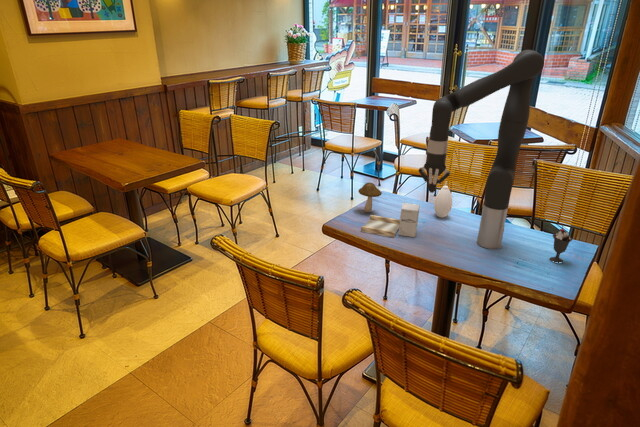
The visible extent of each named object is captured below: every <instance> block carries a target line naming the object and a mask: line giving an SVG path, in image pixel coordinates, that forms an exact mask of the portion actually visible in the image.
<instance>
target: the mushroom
mask: <svg viewBox="0 0 640 427" xmlns="http://www.w3.org/2000/svg"><path fill="white" fill-rule="evenodd" d="M358 194H359V195H361V196H364V197H367V200H366V203H365V205H364V208H363V210H364V213H371V211H372V210H373V198H376V197H380V196H381V195H382V194H383V193H382V191H381V190H380V189H379V188H377V186H376V185H375V184H374V183H373V182H366V183H364V184H363V185H362V187H360V188H359V189H358Z"/></svg>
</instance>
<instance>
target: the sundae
mask: <svg viewBox="0 0 640 427" xmlns="http://www.w3.org/2000/svg"><path fill="white" fill-rule="evenodd" d="M560 225H561V228H560V229H559V231H557V232H556V233H553V234H552V238H553V239H554V241H553V250H554V251H555V253H556V254H555V256H551V257H550V258H549V261H550V260H551V261H554V262H558V263H559V262H563V261H564V260H563V259H562V258H560V256H561V254H563V253H565V252H566V250H567V248H568V246H569V244H570V242H572V241H573V239H574V238H572V237H571V236H570V235H569V233H568V231H566V230H565V229H564V225H563V223H560ZM551 261H550V262H551Z"/></svg>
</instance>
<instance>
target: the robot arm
mask: <svg viewBox="0 0 640 427" xmlns="http://www.w3.org/2000/svg"><path fill="white" fill-rule="evenodd" d="M544 66H545V59H544V57H543V55H542V54H541V53H539V52H538V51H536V50H533V49H524V50H522V51H520V52H519V53H518V54H516V55H515V57H514V59H513V60H512V62H511V63H510V64H508V65H507V66H505V67H503V68H501V69H500V70H498V71H495V72H493V73H491V74H488V75H486V76H484V77H481V78H478V79H476V80H474V81H472V82H471V83H470V82H469V83H468V84H466V85H464V86H463V87H460V88H459V89H457V90H456V91H453V92H451V93H449V94H445V95H444V96H441V97H439V98H438V99H436V100H435V102H434V103H433V106H432V114H431V115H432V116H431V126H430V130H429V138H428V142H427V147H426V150H427V151H426V158H425V163H424V164H423V166H422V167H419V168H418V173H419V174H420V176H421V178H422V179H423V180H424V182H426V183H428V189H427V190H428V191H429V193H432V194H433V193H435V192H436V190H437V184H441V183H443V182H444V181H445V180H446V179H447V178H448V177H449V176H450V175H451V174H452V173H451V171H450V170H448V169H447V166H446V162H447V153H448V148H449V147H448V145H449V144H448V142H449V134H450V124H451V118H452V114H453V112H455V111H457V110H459V109H461V108H466V107H469V106H470V105H473V104H475V103H477V102H479V101H481V100H483V99H484V98H486V97H488V96H490V95H492V94H494V93H496V92H499V91H500V90H503V89H505V88H507V87H509V89H508V93H507V97H506V100H505V103H504V106H503V111H502V114H501V118H500V122H499V127H498V132H497V134H498V135H497V151H496V156H495V159H494V162H493V165H492V167H491V169H490V172H489V174H488V175H487V179H486V184H485V191H484V195H483V199H484V200H483V205H482V212H481V216H480V221H479V227H478V233H477V234H478V235H477V237H476V244H478V246H480V247H483V248H486V249H488V250H489V249H491V250H494V249H499V250H500V249H501V246H502V240H503V237H504V232H505V226H506V225H505V223H506V220H507V214H508V209H509V205H510V199H511V194H512V189H513V184H514V180H515V173H516V172H515V171H516V164H517V158H518V154H519V150H520V149H521V146H522V143H523V140H524V137H525V134H526V130H527V127H528V122H529V120H530V119H529V117H530V108H531V91H532V88H533V84H534V81H535V78H536V77H537V76H538V75H539V74H540V73H541V72H542V70H543V68H544ZM442 174H443V175H442ZM441 175H442V176H441ZM439 176H441V177H440V178H439ZM438 178H439V179H438Z"/></svg>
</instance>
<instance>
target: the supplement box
mask: <svg viewBox="0 0 640 427" xmlns="http://www.w3.org/2000/svg"><path fill="white" fill-rule="evenodd" d="M420 206H421V205H420V204H414V203H410V202H409V203H407V202H402V205H401V210H400V218H399V220H400V225H399V229H398V236H403V237H411V238H416V235H417V229H418V222H419V213H420Z"/></svg>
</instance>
